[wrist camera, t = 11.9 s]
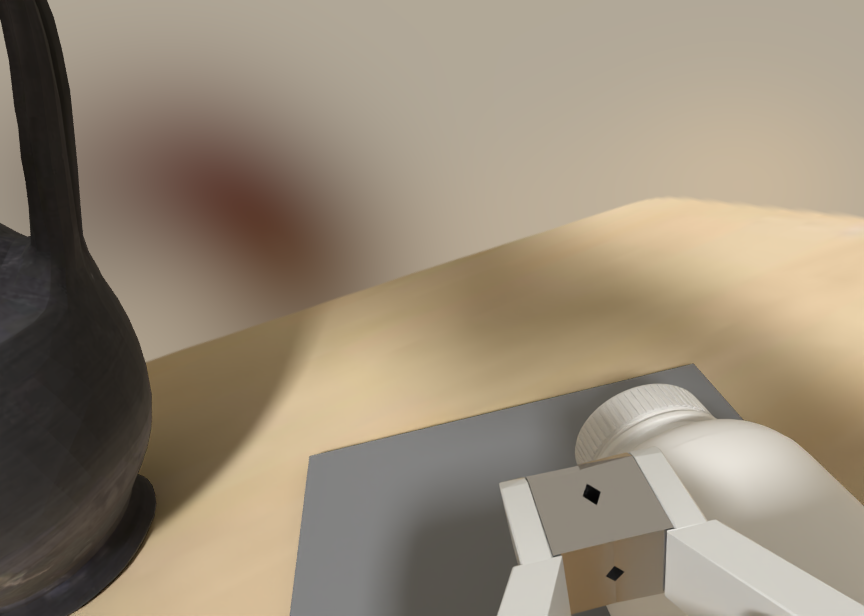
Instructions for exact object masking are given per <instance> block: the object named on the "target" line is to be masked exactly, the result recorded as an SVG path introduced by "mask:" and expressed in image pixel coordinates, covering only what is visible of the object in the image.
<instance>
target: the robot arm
mask: <svg viewBox="0 0 864 616" xmlns="http://www.w3.org/2000/svg"><path fill="white" fill-rule="evenodd" d="M499 487H500V491H501V495H502V500H503V504H504V509H505V513H506V518H507V522H508V527H509V531H510V535H511V539H512V544H513V548H514V551H515V555H516V559H517V563H518V566H514V567H513V568H512V571H511V574H510V577H509V580H508V583H507V586H506V589H505V592H504V595H503V598H502V602H501V605H500V608H499V611H498V614H497V616H571V614H575V613H579V612H583V611H587V610H590V609H594V608H598V607H602V606H605V605H609V604H613V603H616V602H622V601H627V600H632V599H637V598H642V597H647V596H652V595H657V594H662V593H665V596H666V597H667V598H668V599H669V600H670V601H671V602H673V603H674V604H675V605H676V606H677V607H679V608H680V609H681V610H682V611H683V612H684V613H686V614H687V615H688V616H864V606H863V605H861V604H859V603H858V602H856V601H854V600H853V599H851V598H849V597H848V596H846V595H844V594H842V593H841V592H839V591H837V590H836V589H834V588H832V587H831V586H829V585H827V584H825V583H824V582H822V581H820V580H819V579H817V578H815V577H814V576H812V575H810V574H808V573H807V572H805V571H803V570H802V569H800V568H798V567H797V566H795V565H793V564H791V563H790V562H788V561H786V560H785V559H783V558H781V557H779V556H778V555H776V554H774V553H773V552H771V551H769V550H768V549H766V548H764V547H762V546H761V545H759V544H757V543H756V542H754V541H752V540H751V539H749V538H747V537H745V536H744V535H742V534H740V533H739V532H737V531H735V530H734V529H732V528H730V527H728V526H727V525H725V524H723V523H722V522H720V521H718V520H716V519H714V520H709V521H707V519H706V518H705V516H704V515H703V513H702V512H701V510H700V509H699V507H698V506H697V504H696V503H695V501H694V500H693V498H692V497H691V495H690V494H689V492H688V491H687V489H686V487H685V486H684V484H683V483H682V481H681V480H680V478H679V477H678V475H677V474H676V472H675V471H674V469H673V468H672V466H671V465H670V463H669V462H668V460H667V459H666V457H665V455H664V454H663V452H662V451H661V450H660V449H659V448H658V447H656V446H653V447H649V448H645V449H641V450H637V451H632V452H629V453H627V452H625V453H621V454H617V455H614V456H610V457H606V458H602V459H598V460H594V461H590V462H586V463H582V464H578V465H576V466H575V467H570V468H565V469H560V470H556V471H551V472H546V473H541V474H537V475H532V476H527V477H526V478H525V477H523V478H518V479H514V480H509V481H505V482H501V483H499Z"/></svg>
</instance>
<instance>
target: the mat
mask: <svg viewBox="0 0 864 616" xmlns="http://www.w3.org/2000/svg"><path fill="white" fill-rule="evenodd" d="M647 384H669V385H674V386H678V387H679V388H680V387H681V388H683V389H684V390H687V391H689V392H690V393H691V394H693V395H694V396H695V397H696V398H697V399H698V400H699V402H700V403H701V404H702V405H703V406H704V407H705V408H706V409H707V410H708V411H709V412H710V413H711V414H712V416H713V417H715V418H716V419H736V420H743V419H742V418H741V417H740V416H739V414H738V413H737V412H736V411H735V410H734V409H733V408H732V406H731V405H730V404H729V403H728V402H727V401H726V400H725V399H724V397H723V396H722V395H721V394H720V393H719V392H718V391H717V390H716V388H715V387H714V386H713V385H712V384H711V383H710V382H709V380H708V379H707V378H706V377H705V376H704V375H703V374H702V373H701V371H700V370H699V369H698V368H697V367H696V366H695V365H694V364H690V365H686V366H681V367H677V368H673V369H669V370H665V371H661V372H657V373H652V374H648V375H644V376H640V377H636V378H632V379H628V380H623V381H619V382H615V383H611V384H607V385H603V386H599V387H594V388H590V389H586V390H582V391H578V392H574V393H570V394H565V395H561V396H557V397H553V398H549V399H545V400H540V401H536V402H532V403H528V404H524V405H520V406H516V407H511V408H507V409H503V410H499V411H495V412H491V413H487V414H482V415H478V416H474V417H470V418H466V419H462V420H458V421H453V422H449V423H445V424H441V425H437V426H433V427H429V428H424V429H420V430H416V431H412V432H408V433H404V434H400V435H395V436H391V437H387V438H383V439H379V440H375V441H370V442H366V443H362V444H358V445H354V446H350V447H346V448H341V449H337V450H333V451H329V452H325V453H321V454H317V455H312V456H310V457H309V465H308V473H307V481H306V489H305V497H304V505H303V513H302V521H301V529H300V537H299V545H298V553H297V561H296V569H295V577H294V585H293V594H292V602H291V610H290V616H497V614H498V611H499V608H500V605H501V602H502V598H503V595H504V592H505V589H506V586H507V583H508V580H509V577H510V574H511V571H512V568H513V567H514V566H518V563H517V559H516V555H515V551H514V548H513V544H512V539H511V535H510V531H509V527H508V522H507V518H506V513H505V509H504V504H503V500H502V495H501V491H500V487H499V483H501V482H505V481H509V480H514V479H518V478H523V477H525V478H526V477H527V476H532V475H537V474H541V473H546V472H551V471H556V470H560V469H565V468H570V467H575V466H576V465H577V463H576V459H575V456H576V455H575V446H576V441H577V437H578V434H579V432H580V430H581V428H582V426H583V425H584V423H585V422H586V420H587V419H588V418H589V416H590V415H591V414H592V413H593V412H594V411H595V410H596V409H597V408H598V407H599V406H601V405H602V404H603V403H605V402H606V401H607V400H609V399H610V398H612V397H614V396H615V395H617V394H619V393H621V392H623V391H626V390H628V389H631V388H634V387H637V386H642V385H647ZM571 616H611V615H610V613H609V611H608V609H607V607H606V605H605V606H602V607H598V608H594V609H590V610H587V611H583V612H579V613H575V614H571Z"/></svg>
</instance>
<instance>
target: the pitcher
mask: <svg viewBox="0 0 864 616" xmlns="http://www.w3.org/2000/svg"><path fill="white" fill-rule="evenodd" d="M0 20H1V24H2V29H3V34H4V39H5V44H6V49H7V54H8V58H9V65H10V73H11V82H12V90H13V99H14V107H15V113H16V117H17V123H18V129H19V141H20V152H21V160H22V165H23V171H24V176H25V181H26V189H27V197H28V205H29V219H30V232H31V236H28V237H27V236H25V235H22V234H20V233H18V232H16V231H14V230H12V229H10V228H9V227H6V226H5V225H3V224H1V223H0V616H67V615H69V614H71V613H72V612H74V611H76V610H77V609H79V608H80V607H81V606H83V605H84V604H85V603H87V602H88V601H89V600H90V599H92V598H93V597H94V596H96V595H97V594H98V593H99V592H100V591H101V590H102V589H104V588H105V587H106V586H107V585H108V584H109V583H110V582H111V581H112V580H113V579H115V578H116V577H117V576H118V575H119V573H120V572H121V571H122V570H123V569H124V568H125V567H126V566H127V564H128V563H129V562H130V560H131V559H132V558H133V556H134V555H135V554H136V552H137V550H138V549H139V547H140V545H141V543H142V542H143V540H144V538H145V536H146V534H147V532H148V529H149V527H150V525H151V523H152V520H153V518H154V515H155V509H156V497H155V493H154V489H153V486H152V485H151V483H150V482H149V480H148V479H146V478H145V477H143V476H141V475H139V474H138V472H139V469H140V467H141V465H142V462H143V459H144V455H145V452H146V449H147V446H148V441H149V436H150V431H151V422H152V394H151V389H150V383H149V378H148V372H147V367H146V363H145V360H144V357H143V353H142V350H141V347H140V343H139V341H138V338H137V336H136V334H135V331H134V329H133V327H132V324H131V322H130V320H129V318H128V316H127V314H126V312H125V311H124V309H123V307H122V305H121V304H120V302H119V300H118V298H117V297H116V295H115V294H114V293H113V291H112V289H111V288H110V287H109V285H108V284H107V282H106V281H105V279H104V278H103V276H102V275H101V273H100V271H99V268H98V267H97V265H96V263H95V261H94V260H93V258H92V256H91V255H90V253H89V251H88V248H87V245H86V242H85V240H84V237H83V230H82V218H81V206H80V194H79V181H78V166H77V156H76V146H75V135H74V126H73V115H72V105H71V95H70V88H69V83H68V78H67V74H66V68H65V63H64V58H63V53H62V48H61V44H60V40H59V36H58V32H57V28H56V24H55V20H54V17H53V14H52V12H51V9H50V7H49V4H48V2H47V0H0Z"/></svg>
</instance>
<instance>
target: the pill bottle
mask: <svg viewBox="0 0 864 616" xmlns="http://www.w3.org/2000/svg"><path fill="white" fill-rule="evenodd" d="M653 446H656V447H658V448H659V449H660V450H661V451H662V452H663V454H664V455H665V457H666V459H667V460H668V462H669V463H670V465H671V466H672V468H673V469H674V471H675V472H676V474H677V475H678V477H679V478H680V480H681V481H682V483H683V484H684V486H685V487H686V489H687V491H688V492H689V494H690V495H691V497H692V498H693V500H694V501H695V503H696V504H697V506H698V507H699V509H700V510H701V512H702V513H703V515H704V516H705V518H706V519H707V521H709V520H714V519H716V520H718V521H720V522H722V523H723V524H725V525H727V526H728V527H730V528H732V529H734V530H735V531H737V532H739V533H740V534H742V535H744V536H745V537H747V538H749V539H751V540H752V541H754V542H756V543H757V544H759V545H761V546H762V547H764V548H766V549H768V550H769V551H771V552H773V553H774V554H776V555H778V556H779V557H781V558H783V559H785V560H786V561H788V562H790V563H791V564H793V565H795V566H797V567H798V568H800V569H802V570H803V571H805V572H807V573H808V574H810V575H812V576H814V577H815V578H817V579H819V580H820V581H822V582H824V583H825V584H827V585H829V586H831V587H832V588H834V589H836V590H837V591H839V592H841V593H842V594H844V595H846V596H848V597H849V598H851V599H853V600H854V601H856V602H858V603H859V604H861V605H863V606H864V506H863V505H862V504H861V503H860V502H859V501H858V500H857V499H856V498H855V497H854V496H853V495H852V494H851V493H850V492H849V491H848V490H847V489H846V488H844V487H843V486H842V485H841V484H840V483H839V482H838V481H837V480H836V479H835V478H834V477H833V476H832V475H831V474H830V473H829V472H828V471H827V470H826V469H825V468H824V467H823V466H822V465H820V464H819V463H818V462H817V461H816V460H815V459H814V458H813V457H812V456H811V455H810V454H809V453H808V452H807V451H806V450H804V449H803V448H802V447H801V446H800V445H799V444H797V443H796V442H795V441H793V440H792V439H790V438H789V437H787V436H784V435H783V434H781V433H779V432H777V431H775V430H773V429H771V428H769V427H766V426H764V425H761V424H757V423H754V422H750V421H744V420H736V419H716V418H715V417H713V416H712V414H711V413H710V412H709V411H708V410H707V409H706V408H705V407H704V406H703V405H702V404H701V403H700V402H699V400H698V399H697V398H696V397H695V396H694V395H693V394H691V393H690V392H689V391H687V390H684V389H683V388H681V387H680V388H679V387H678V386H674V385H669V384H647V385H642V386H637V387H634V388H631V389H628V390H626V391H623V392H621V393H619V394H617V395H615V396H614V397H612V398H610V399H609V400H607V401H606V402H605V403H603V404H602V405H601V406H599V407H598V408H597V409H596V410H595V411H594V412H593V413H592V414H591V415H590V416H589V418H588V419H587V420H586V422H585V423H584V425H583V426H582V428H581V430H580V432H579V434H578V437H577V441H576V446H575V455H576V456H575V459H576V463H577V465H578V464H582V463H586V462H590V461H594V460H598V459H602V458H606V457H610V456H614V455H617V454H621V453H625V452H627V453H629V452H632V451H637V450H641V449H645V448H649V447H653ZM606 607H607V609H608V611H609V613H610V615H611V616H688V615H687V614H686V613H684V612H683V611H682V610H681V609H680V608H679V607H677V606H676V605H675V604H674V603H673V602H671V601H670V600H669V599H668V598H667V597H666V596H665V593H662V594H657V595H652V596H647V597H642V598H637V599H632V600H627V601H622V602H616V603H613V604H609V605H606Z"/></svg>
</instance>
